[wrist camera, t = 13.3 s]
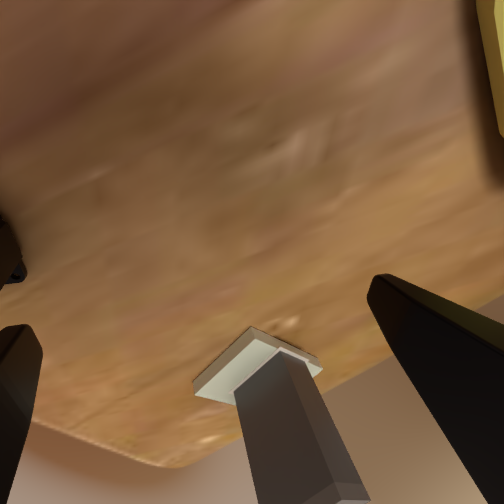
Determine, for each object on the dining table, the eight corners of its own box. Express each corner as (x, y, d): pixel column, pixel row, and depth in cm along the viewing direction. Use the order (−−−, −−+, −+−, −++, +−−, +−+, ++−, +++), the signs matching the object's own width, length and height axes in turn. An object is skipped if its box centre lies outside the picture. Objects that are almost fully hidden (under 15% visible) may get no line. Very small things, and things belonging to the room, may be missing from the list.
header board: (192, 381, 30) (197, 421, 27) (253, 323, 28) (266, 359, 25) (264, 401, 36) (275, 436, 33) (319, 355, 34) (337, 388, 31)
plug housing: (233, 391, 30) (268, 547, 21) (280, 350, 29) (341, 499, 19) (259, 399, 33) (302, 543, 23) (304, 361, 31) (371, 500, 21)
